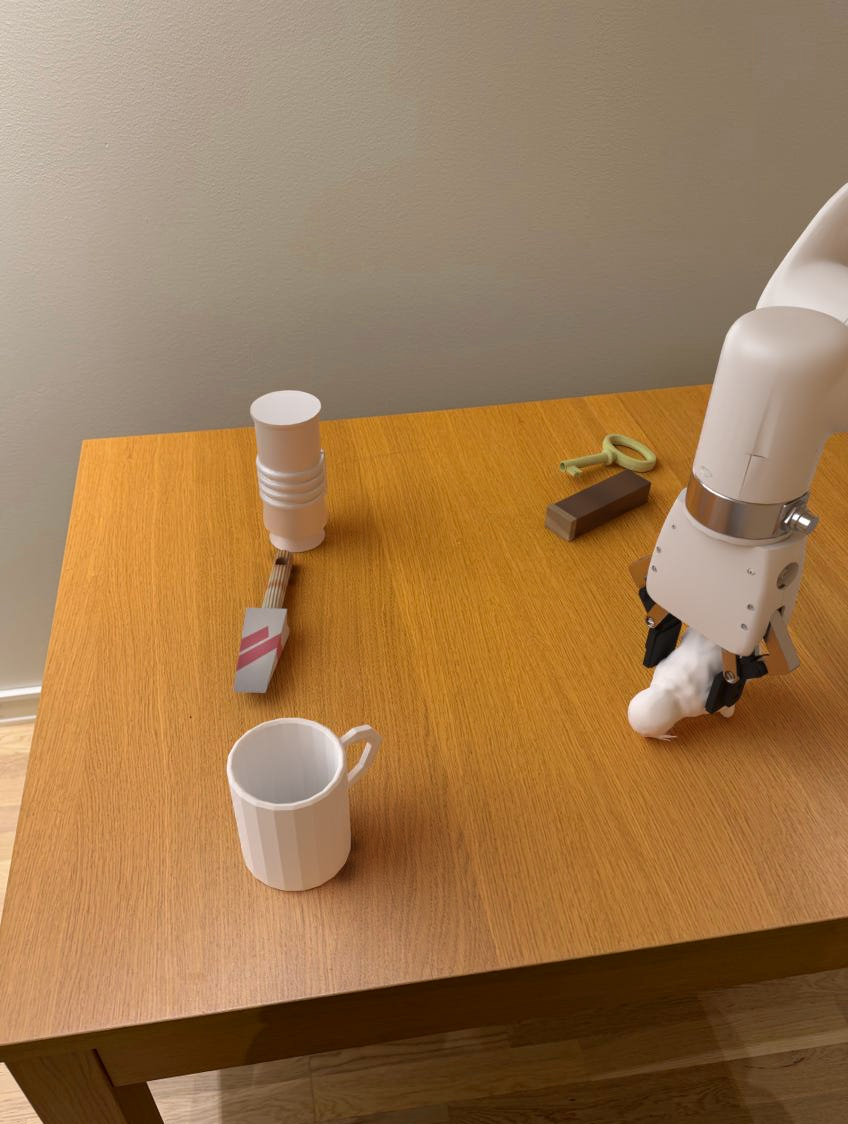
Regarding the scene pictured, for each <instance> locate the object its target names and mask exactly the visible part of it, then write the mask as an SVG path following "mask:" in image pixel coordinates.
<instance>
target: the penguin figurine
mask: <svg viewBox="0 0 848 1124" xmlns="http://www.w3.org/2000/svg"><path fill="white" fill-rule="evenodd" d="M762 651H763V647H762V640H761V641H760V643H759V655H763V653H762ZM740 658H742V656H740ZM721 671H723V665H722V650H721V647H720V646H719V645H717V644H716V643H714V642H713V641H711V640H710V639H708V638H707V637H705V636H704V635H702V634H701V633H699V632H698V631H696V630H694V629H693V628H691V627H690V626H689V625H688V626H687V628H686V629H685V631H684V633H683V634H682V636H681V638H680V643H679V646H678V647H676V648H675V650H674V651H673V652H671V653H670V655H669V656H668V657H667V658H665V659H663V660H661V661H660V662H659V663H658V665H656V666H655V668H654V672H653V676H652V679H651V682H650V684H649V687H647V688H645V689H643V690H641V691H639V692H638V693H636V694H635V695H634V697H633V698H632V699H630V700H629V705H628V708H627V716H628V717H627V718H628V722H629V725H630V726H631V728H632V730H633V731H635V732H636V733H638V734H639V735H640V736H641V737H643V738H655V739H659V740H661V741H662V740H663V741H669V742H671V740H670V739H668V738H678V735H672V734H674V733H675V732H673V731H672V730H671V729H672V728H673V727H674V726H675V724H676V723H678V722H679V721H681V720H683V719H684V718H696V717H699V716H701V715H710V714H709V713H708V712H707V711H706V708H705V704H706V701H707V698H708V695H709V692H710V689H711V686H712V683H713V680H714V677H715V676H716V675H717V674H718V673H720V672H721ZM753 680H754V679H747V681H746V683H745V686H744V688H745V687H746V686H747V684H748V683H749V682H751V681H753ZM736 703H737V702H736ZM736 703H735V704H734V705H733V706H731V707H729V708H728V707H727V706H724V707H723V708H721V709H720V710H718V711H717V712H716V713H720V714H721V715H722V716H723V717H724V718H727V719H728V718H731V717H732V716H733V715H734V713H735V706H736ZM668 731H669V732H668ZM669 733H672V734H671V735H670V734H669Z"/></svg>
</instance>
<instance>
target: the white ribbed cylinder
mask: <svg viewBox="0 0 848 1124" xmlns="http://www.w3.org/2000/svg"><path fill="white" fill-rule="evenodd" d="M249 408H250V409H249V411H250V412H249V413H250V417H251V418H252V420H253V422H254V423H253V424H254V431H255V440H256V448H257V449H256V450H257V455H256V457H255V467H256V476H257V479H258V481H257V484H258V485H257V486H258V488H259V498H260V499H261V501H262V513H263V516H262V517H263V526H264V527H265V529H266V530H267V531H268V532H269V541H270V544H271V545H272V546H273V547H274V548H276V549H277V550H279V551H281V550H288V551H289V552H291V553H302V552H308V551H310V550H313V549H315V548H317V547H318V546H321V544H322V542H324V540H325V539H326V538H325V537H326V531H325V529H324V527H326V526H327V524H328V521H329V513H328V509H327V507H328V506H327V501H326V495H327V493H328V490H327V489H328V480H327V479H328V478H327V463H326V453H325V451H324V449H323V448H322V444H321V431H320V430H321V429H320V428H321V427H320V415H321V413H322V404H321V401H320V399H318V397H316V395H313V394H311V393H308V392H306V391H301V390H291V389H289V390H277V391H272V392H269V393H266V394H263V395H261V396H260V397H258V398H256V399H255V400H254V401H253V402H252V404H251V405H250V407H249Z"/></svg>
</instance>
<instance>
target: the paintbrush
mask: <svg viewBox="0 0 848 1124" xmlns="http://www.w3.org/2000/svg"><path fill="white" fill-rule="evenodd" d="M294 559H295V557H294V554H293V553H292V552H289V551H288V550H278V551H277V552H276V553H275V557H274V560H273V563H272V567H271V571H270V575H269V578H268V582H267V585H266V589H265V594H264V597H263V601H262V605H261V607H245V613H244V620H243V626H242V631H241V639H240V646H239V651H238V657H237V664H236V671H235V678H234V683H233V690H232V692H233V693H257V694H266V692H267V690H268V687H269V685H270V683H271V680H272V678H273V675H274V672H275V670H276V668H277V665H278V663H279V660H280V658H281V655H282V652H283V650H284V649H285V648H284V647H286V646H285V645H286V643H287V642H288V638H289V636H290V633H291V630H290V628H289V625H288V608H283V604H284V601H285V597H286V592H287V587H288V584H289V579H290V576H291V571H292V567H293V564H294Z"/></svg>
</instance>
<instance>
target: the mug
mask: <svg viewBox="0 0 848 1124" xmlns="http://www.w3.org/2000/svg"><path fill="white" fill-rule="evenodd" d="M383 739H384V737H383V736H382V735H381V734H380V733H379V732H377V730H375V729H374V728H373V727H372V726H370V725H369V723H368V724H364V725H359V726H355V727H352V728H351V729H349V730H348V731H347V732H345V733H344V734H343V735H342V736H340V737H339V736H337V734H336V733H334V731H333V730H332V729H331V728H330V727H327V726H326V725H323V724H322V723H320V722H318V721H316V720H311V719H308V718H307V719H306V718H302V717H280V718H276V719H272V720H267V721H263V722H262V723H260V724H258V725H256V726H254V727H252V728H251V729H248V730H247V731H246V732H245V733H244V734H243V735H242V736H241V737H240V738H239V739H237V740H236V741H235V743H234V745H233V747H232V748H231V750H230V751H229V754H228V756H227V762H226V770H225V771H226V775H227V781H228V786H229V791H230V796H231V802H232V806H233V812H234V817H235V822H236V828H237V832H238V838H239V842H240V847H241V852H242V856H243V859H244V860H243V861H244V864H245V866H246V867H247V869H248V870H249V871H250V873H251V874H252V876H253V877H254V878H255V879H257V880H258V881H260V882H262V883H263V884H265V885H266V886H267V887H269V888H272V889H276V890H281V891H284V892H304V891H307V890H310V889H313V888H317V887H320V886H322V885H324V884H325V883H327V882H328V881H330V880H331V879H332V878H334V877H335V876H336V875H337V874H338V873H339V872H340V870H341V869H342V868H343V867H344V866H345V864H346V862H347V860H348V858H349V855H350V852H351V847H352V846H351V845H352V840H351V839H352V834H351V833H352V832H351V816H350V815H351V814H350V795H349V790H350V789H351V788H353V787H354V786H355V785H356V784H357V783H358V782H359V780H360V779H362V778H363V776H364V775H365V774H366V773H367V772H368V771H369V770H370V769H371V768H372V766H373V763H374V761H375V758H376V756H377V753H378V751H379V749H380V747H381V744H382V741H383ZM363 741H366V744H365V747H364V750H363V752H362V754H361V756H360V759H359V761H358V763H356V765H355V766H354V767H353V768H352V769H351V770H350V771H349V772H348V764H347V763H348V760H347V759H348V758H347V751H346V749H347V748H349V747H350V746H351V745H353V744H357V743H359V742H363Z"/></svg>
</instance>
